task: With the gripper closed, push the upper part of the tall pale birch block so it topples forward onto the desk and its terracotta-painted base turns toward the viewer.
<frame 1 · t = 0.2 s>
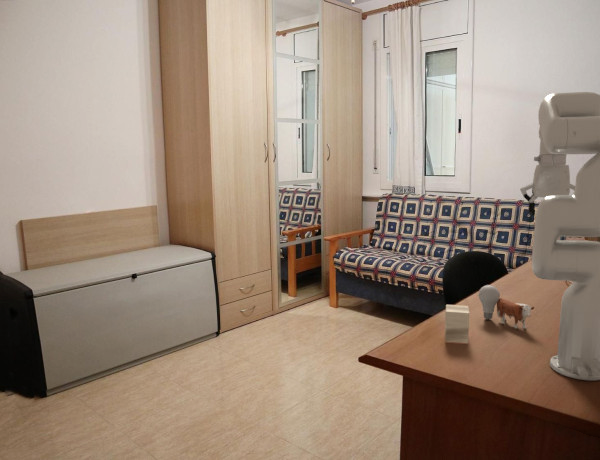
hand: (548, 215, 160), 31 cm above the table, tool pointing down, fingers open, 9 cm apart
bull figurine: (514, 326, 152), on the table
lightbulb: (487, 320, 157), on the table
birch block: (456, 339, 143), on the table
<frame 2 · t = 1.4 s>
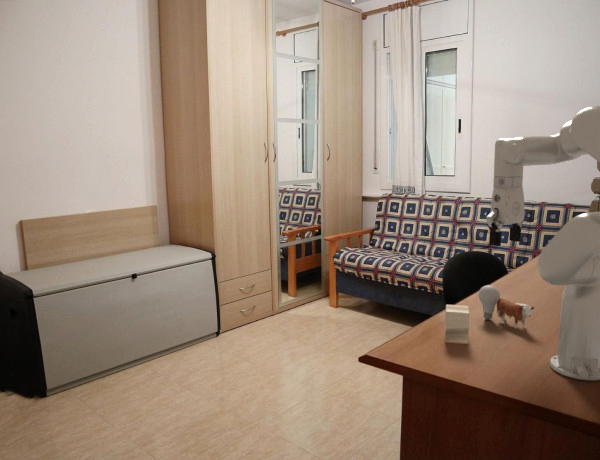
hand: (505, 243, 144), 26 cm above the table, tool pointing down, fingers open, 9 cm apart
nothing on the table moved.
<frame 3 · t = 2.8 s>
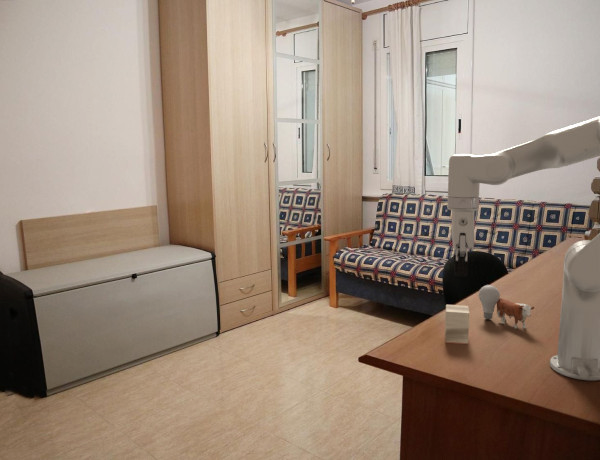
hand: (460, 272, 131), 22 cm above the table, tool pointing down, fingers open, 5 cm apart
nothing on the table moved.
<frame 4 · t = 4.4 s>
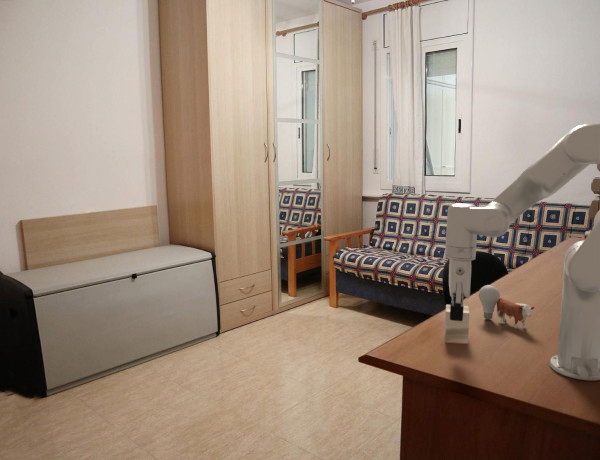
hand: (456, 319, 134), 9 cm above the table, tool pointing down, fingers closed
nothing on the table moved.
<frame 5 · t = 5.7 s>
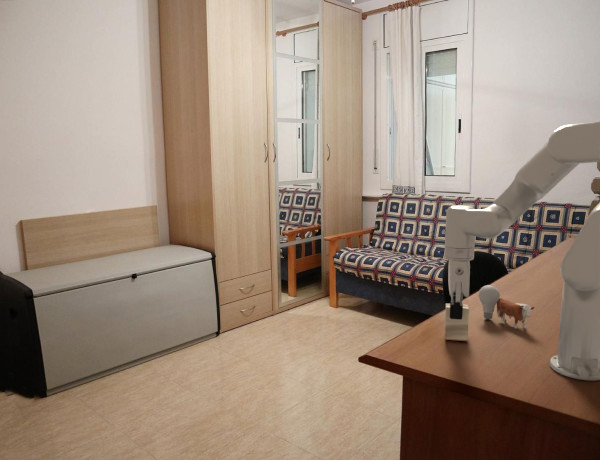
hand: (455, 318, 138), 7 cm above the table, tool pointing down, fingers closed
birch block: (456, 337, 143), on the table, tilted 8°
everything else where it was.
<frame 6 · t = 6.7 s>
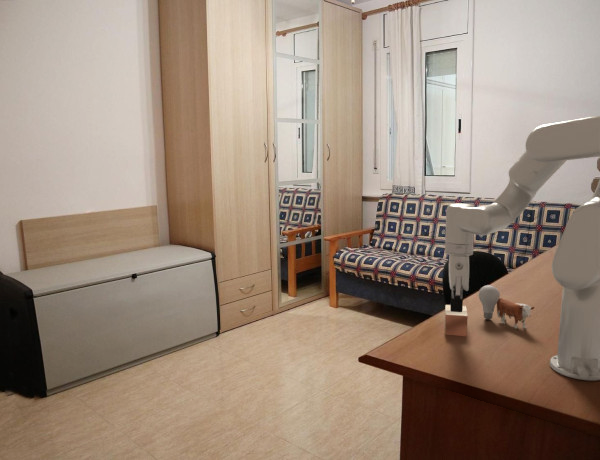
hand: (456, 310, 145), 7 cm above the table, tool pointing down, fingers closed
birch block: (456, 325, 145), point 3 cm above the table, tilted 90°
everything else where it was.
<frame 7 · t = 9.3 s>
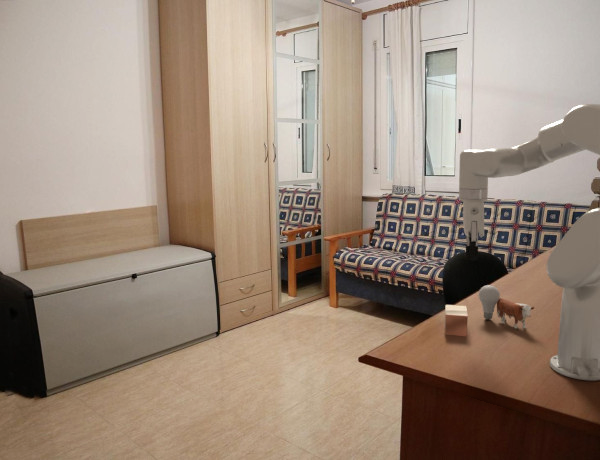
hand: (471, 259, 144), 22 cm above the table, tool pointing down, fingers closed
nothing on the table moved.
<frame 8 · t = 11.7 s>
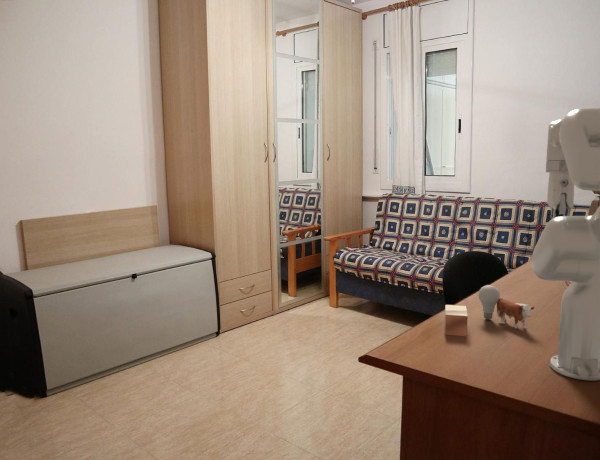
hand: (556, 233, 141), 29 cm above the table, tool pointing down, fingers closed
nothing on the table moved.
at the end: birch block tilted 90°; birch block inside the target area (2.5 cm from its centre), point 2.9 cm above the table; birch block touching table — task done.
